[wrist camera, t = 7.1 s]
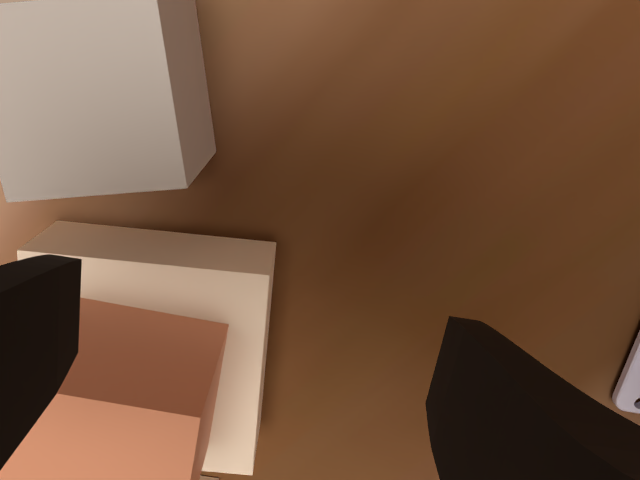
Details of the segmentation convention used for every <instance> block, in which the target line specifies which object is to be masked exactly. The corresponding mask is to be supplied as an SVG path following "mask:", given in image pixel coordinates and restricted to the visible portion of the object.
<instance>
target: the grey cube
mask: <svg viewBox="0 0 640 480" xmlns="http://www.w3.org/2000/svg"><path fill="white" fill-rule="evenodd" d="M215 153H216V145H215V138H214V131H213V124H212V116H211V109H210V102H209V95H208V88H207V81H206V74H205V66H204V59H203V52H202V45H201V38H200V31H199V24H198V16H197V9H196V2H195V0H35V1H23V2H13V3H0V180H1V184H2V187H3V191H4V195H5V198H6V202H19V201H32V200H45V199H57V198H70V197H83V196H96V195H109V194H122V193H134V192H147V191H160V190H173V189H186V188H188V187H189V186H190V184H191V183H192V182H193V181H194V179H195V178H196V177H197V175H198V174H199V173H200V172H201V170H202V169H203V168H204V167H205V165H206V164H207V163H208V162H209V160H210V159H211V158H212V157H213V155H214V154H215Z"/></svg>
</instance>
